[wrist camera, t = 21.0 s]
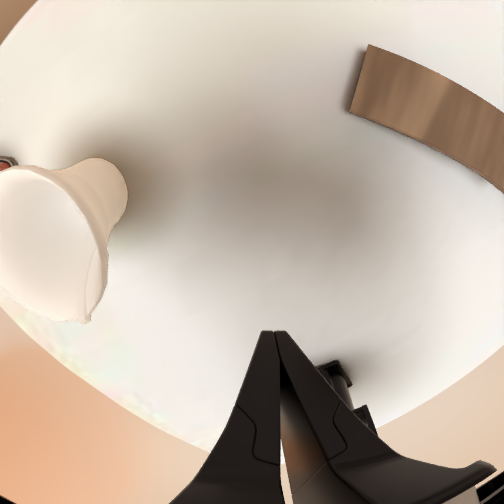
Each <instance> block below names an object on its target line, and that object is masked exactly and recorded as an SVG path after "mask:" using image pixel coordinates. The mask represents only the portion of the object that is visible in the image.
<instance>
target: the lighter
mask: <svg viewBox="0 0 504 504" xmlns="http://www.w3.org/2000/svg"><path fill="white" fill-rule="evenodd" d="M13 166H19V165H18V163H17V161H16V160H15V159H14V158H12V157H7V156H0V171H2V170H5V169H7V168H10V167H13Z"/></svg>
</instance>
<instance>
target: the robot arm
mask: <svg viewBox="0 0 504 504" xmlns="http://www.w3.org/2000/svg"><path fill="white" fill-rule="evenodd" d="M351 386H352V381H351V380H350V378H349V377H348V375H347V373H346V372H345V370H344V368H343V367H342V365H341V363H340V362H339V361H334V362H332V363H330V364H327V365H325V366H323V367H321V368H318V369H316V367H315V366H314V365H313V364H312V362H311V361H310V360H309V359H308V358H307V356H306V355H305V354H304V353H303V351H302V350H301V349H300V348H299V346H298V345H297V344H296V343H295V342H294V340H293V339H292V338H291V337H290V335H289V334H288V333H287V332H286V331H274V332H273V331H264V330H263V331H261V333H260V336H259V339H258V342H257V345H256V347H255V350H254V353H253V356H252V359H251V362H250V364H249V367H248V370H247V373H246V375H245V378H244V381H243V384H242V386H241V389H240V392H239V394H238V397H237V400H236V402H235V406H234V407H233V410H232V413H231V415H230V418H229V420H228V422H227V425H226V427H225V429H224V431H223V432H222V434H221V436H220V438H219V440H218V441H217V443H216V445H215V446H214V448H213V450H212V451H211V453H210V455H209V456H208V458H207V459H206V461H205V463H204V464H203V466H202V467H201V469H200V470H199V472H198V473H197V475H196V476H195V477H194V479H193V480H192V481H191V482H190V483H189V484H188V485H187V486H186V487H185V488H184V489H183V491H181V492H180V493H179V495H177V496H176V497H175V498H174V499H173V500H172V501H171V502H170V503H169V504H285V501H284V496H283V491H282V486H281V477H280V450H281V441H282V446H283V452H284V457H285V462H286V467H287V473H288V478H289V483H290V488H291V494H293V495H292V499H293V504H504V471H503V472H501V473H500V474H498V475H497V476H495V477H494V478H492V479H491V480H489V481H488V482H486V483H485V484H483V485H481V486H480V487H478V488H477V489H476V488H475V485H476V484H478V483H479V482H481V481H483V480H484V479H486V478H487V477H488V476H490V475H491V474H493V473H494V472H496V471H497V469H496V468H494V466H493V465H491V464H489V463H487V462H484V461H481V460H479V461H476V462H475V463H473V464H471V465H469V466H467V467H465V468H458V469H454V468H447V467H443V466H438V465H434V464H429V463H426V462H421V461H418V460H414V459H410V458H407V457H404V456H402V455H400V454H398V453H397V452H395V451H394V450H392V449H391V448H390V447H389V446H388V445H387V444H386V443H384V442H383V441H382V440H381V439H380V438H379V437H378V434H377V431H376V428H375V426H374V423H373V420H372V418H371V415H370V412H369V410H368V407H367V405H363V406H362V407H360V408H357V409H354V407H353V403H352V400H351V397H350V394H349V391H348V388H349V387H351ZM0 504H16V503H14V502H12V501H10V500H9V499H7V498H5V497H3V496H1V495H0Z"/></svg>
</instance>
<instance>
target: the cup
mask: <svg viewBox="0 0 504 504" xmlns="http://www.w3.org/2000/svg"><path fill="white" fill-rule="evenodd" d="M127 201H128V188H127V185H126V183H125V180H124V178H123V175H122V174H121V173H120V172H119V170H118V169H117V168H116V167H115V166H114V164H112V163H110V162H108V161H106V160H104V159H102V158H89V159H85V160H82V161H80V162H79V163H77V164H75V165H73V166H71V167H69V168H66V169H63V170H62V169H59V170H47V169H44V168H41V167H38V166H13V167H10V168H7V169H5V170H2V171H0V285H1V286H2V288H3V289H4V290H5V291H6V292H7V293H8V294H9V295H10V296H11V297H12V298H13V299H14V300H15V301H16V302H17V303H19V304H20V305H21V306H23V307H24V308H26V309H27V310H29V311H31V312H33V313H35V314H37V315H39V316H41V317H44V318H48V319H51V320H55V321H72V320H79V321H80V322H81V323H82V324H87V323H89V322H90V321H91V313H92V312H93V311H94V309H95V308H96V306H97V305H98V303H99V302H100V300H101V298H102V296H103V293H104V291H105V288H106V285H107V278H108V257H109V254H108V249H107V246H108V241H109V236H110V232H111V230H112V228H113V227H114V225H115V224H116V223H117V222H118V221H119V220H120V218H121V217H122V215H123V213H124V212H125V210H126V205H127Z"/></svg>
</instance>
